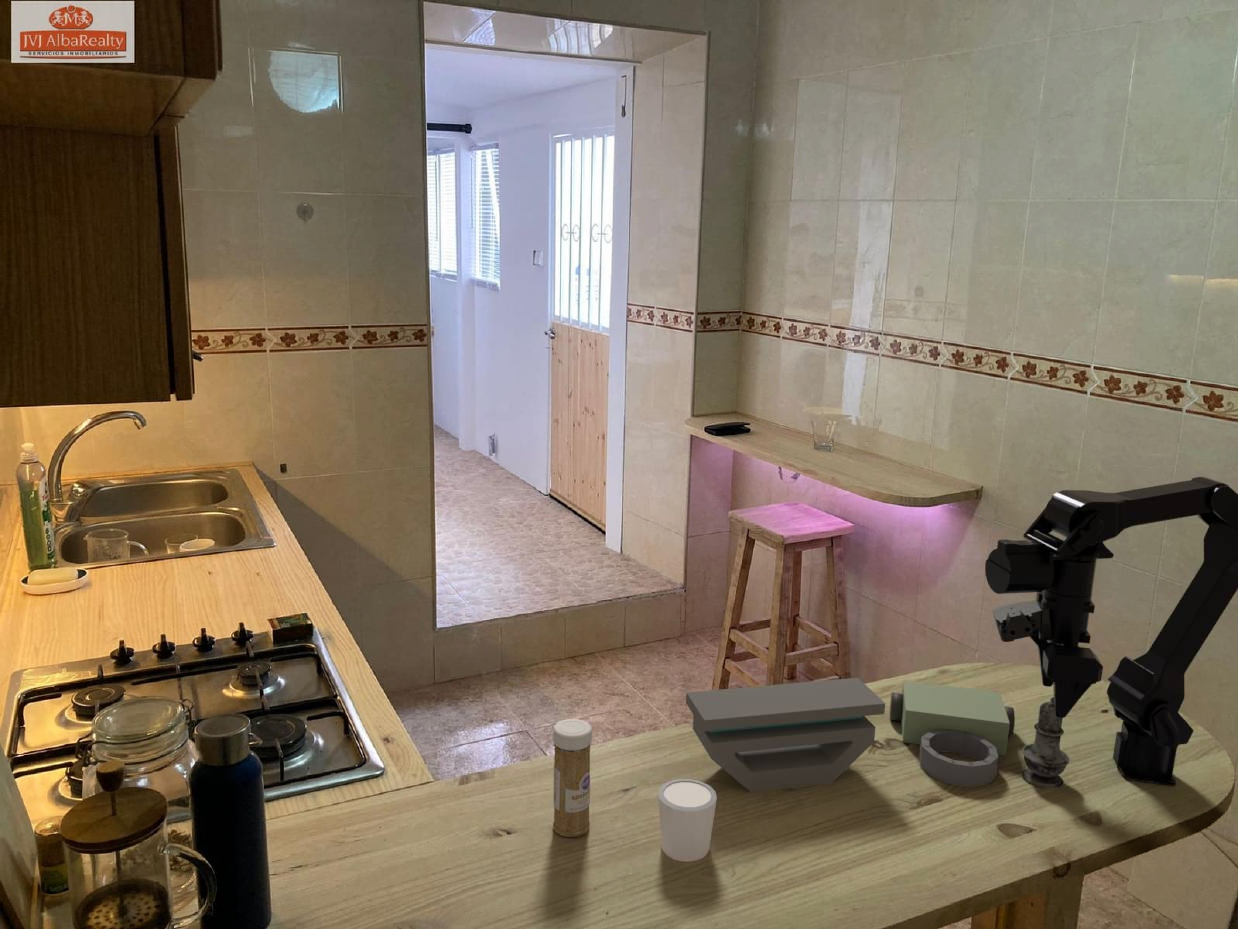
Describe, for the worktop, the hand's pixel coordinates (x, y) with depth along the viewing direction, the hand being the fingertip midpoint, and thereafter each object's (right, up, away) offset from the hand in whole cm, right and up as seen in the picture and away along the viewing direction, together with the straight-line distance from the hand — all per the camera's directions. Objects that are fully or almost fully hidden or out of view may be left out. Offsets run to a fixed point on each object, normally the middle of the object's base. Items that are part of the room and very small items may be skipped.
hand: (1053, 701), depth 128 cm
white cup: (-50, -14, -14) cm, 54 cm away
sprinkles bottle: (-63, -13, -11) cm, 66 cm away
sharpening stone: (-36, -11, +3) cm, 37 cm away
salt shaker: (0, -11, +3) cm, 12 cm away
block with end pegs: (-10, -9, +10) cm, 17 cm away
